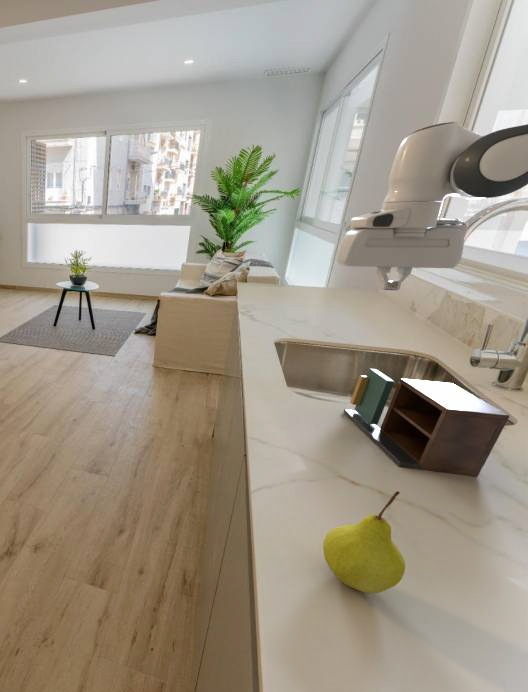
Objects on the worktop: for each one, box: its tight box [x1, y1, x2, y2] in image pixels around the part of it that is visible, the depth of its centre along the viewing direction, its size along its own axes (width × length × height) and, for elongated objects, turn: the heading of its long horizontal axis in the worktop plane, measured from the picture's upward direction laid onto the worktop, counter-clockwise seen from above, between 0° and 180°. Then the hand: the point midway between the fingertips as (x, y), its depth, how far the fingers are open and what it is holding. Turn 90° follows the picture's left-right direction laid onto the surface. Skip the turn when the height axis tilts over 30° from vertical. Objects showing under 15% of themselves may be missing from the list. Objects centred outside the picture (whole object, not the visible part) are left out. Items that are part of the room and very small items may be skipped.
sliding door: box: [349, 368, 395, 426], centre depth 81 cm, size 2×6×9 cm, turn 168°
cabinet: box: [342, 378, 510, 478], centre depth 74 cm, size 11×19×11 cm, turn 168°
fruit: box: [322, 490, 406, 595], centre depth 46 cm, size 7×7×12 cm
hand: (388, 290), depth 87 cm, fingers closed
